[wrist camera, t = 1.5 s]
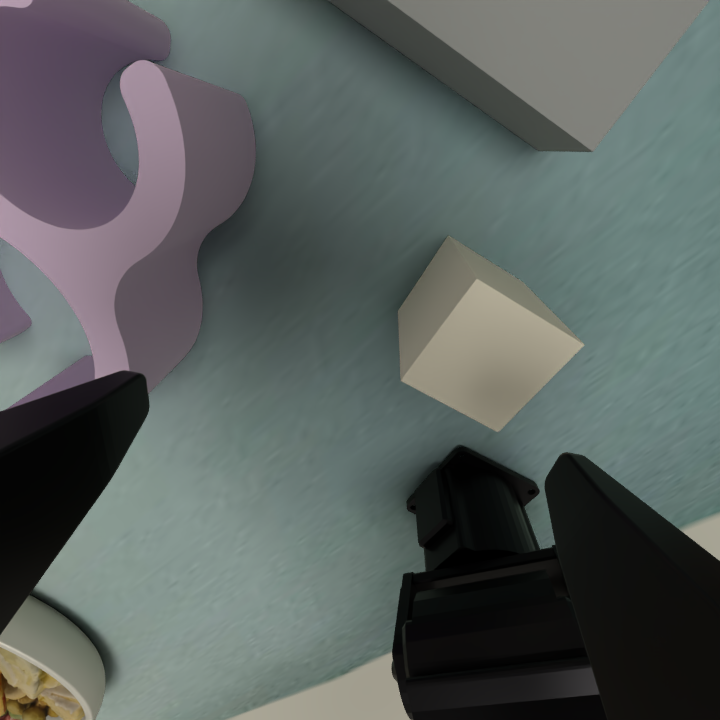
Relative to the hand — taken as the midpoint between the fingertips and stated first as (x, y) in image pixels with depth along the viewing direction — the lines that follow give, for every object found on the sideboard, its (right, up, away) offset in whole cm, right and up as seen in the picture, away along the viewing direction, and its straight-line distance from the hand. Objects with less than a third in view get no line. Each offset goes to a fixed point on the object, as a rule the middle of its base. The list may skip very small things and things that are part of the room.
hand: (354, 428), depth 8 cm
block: (+5, +5, +11) cm, 13 cm away
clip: (-13, +8, +12) cm, 19 cm away
